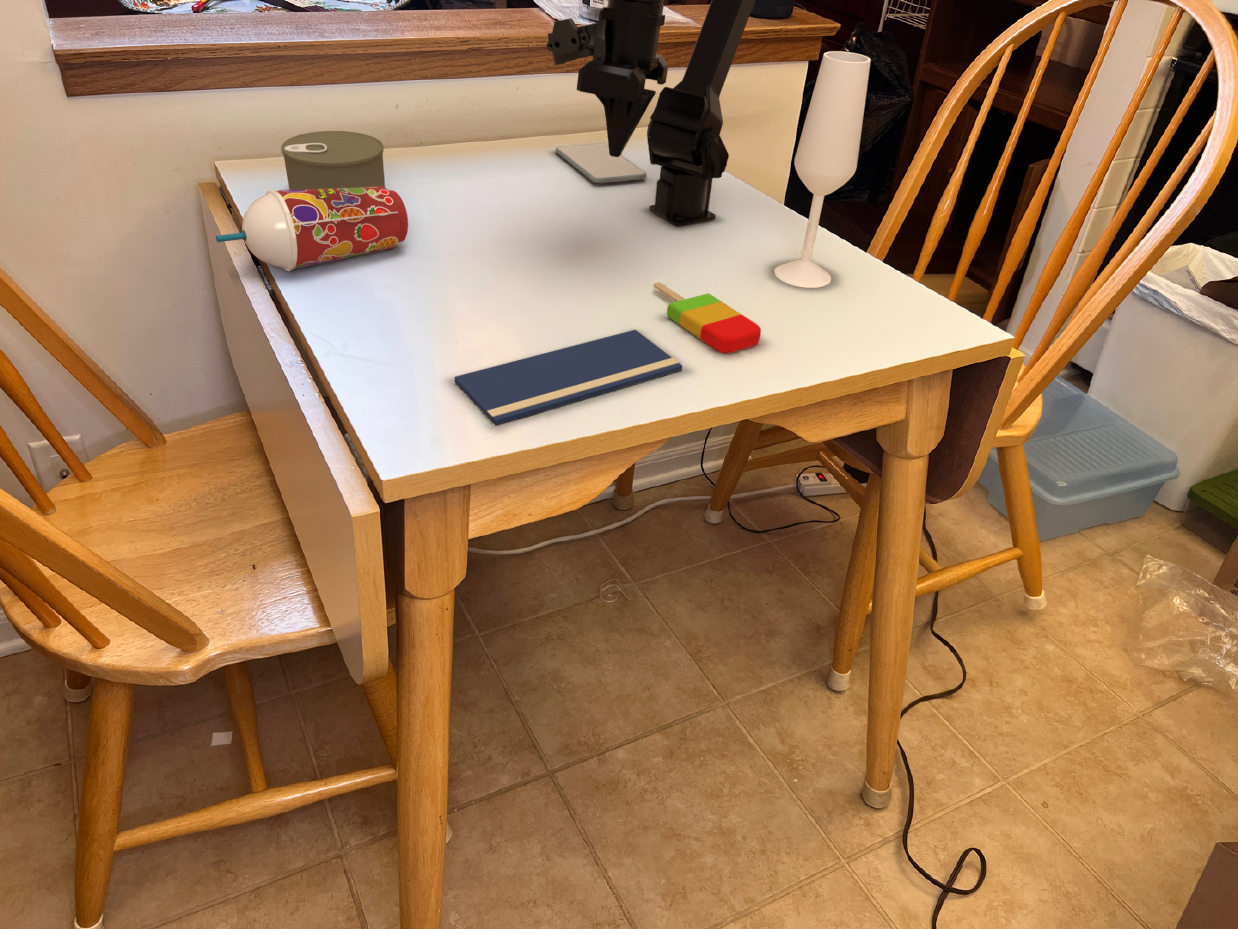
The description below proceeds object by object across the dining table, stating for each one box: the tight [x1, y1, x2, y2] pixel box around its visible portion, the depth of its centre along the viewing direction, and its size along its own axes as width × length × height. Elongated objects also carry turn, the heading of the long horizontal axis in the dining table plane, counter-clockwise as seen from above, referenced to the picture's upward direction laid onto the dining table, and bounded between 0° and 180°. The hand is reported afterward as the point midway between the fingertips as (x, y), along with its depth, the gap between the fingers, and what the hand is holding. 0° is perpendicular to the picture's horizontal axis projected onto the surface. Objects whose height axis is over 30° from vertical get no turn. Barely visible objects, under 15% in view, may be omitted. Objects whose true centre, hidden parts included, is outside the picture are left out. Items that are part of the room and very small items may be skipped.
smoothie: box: [215, 187, 409, 272], centre depth 99 cm, size 8×8×20 cm
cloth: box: [454, 329, 683, 426], centre depth 85 cm, size 20×8×1 cm, turn 124°
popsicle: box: [653, 281, 762, 354], centre depth 95 cm, size 6×15×2 cm, turn 35°
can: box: [280, 130, 386, 190], centre depth 113 cm, size 12×12×7 cm
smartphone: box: [555, 142, 648, 184], centre depth 132 cm, size 8×1×15 cm
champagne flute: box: [773, 50, 872, 289], centre depth 100 cm, size 7×7×24 cm
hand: (614, 155), depth 101 cm, fingers closed
